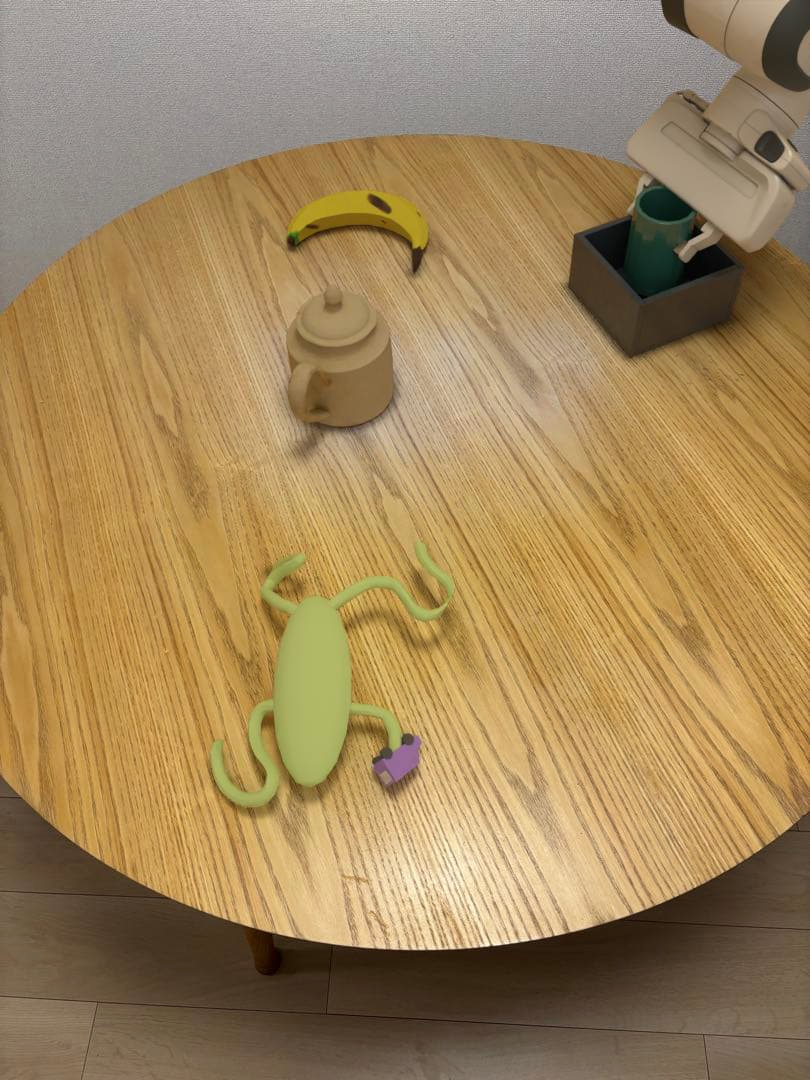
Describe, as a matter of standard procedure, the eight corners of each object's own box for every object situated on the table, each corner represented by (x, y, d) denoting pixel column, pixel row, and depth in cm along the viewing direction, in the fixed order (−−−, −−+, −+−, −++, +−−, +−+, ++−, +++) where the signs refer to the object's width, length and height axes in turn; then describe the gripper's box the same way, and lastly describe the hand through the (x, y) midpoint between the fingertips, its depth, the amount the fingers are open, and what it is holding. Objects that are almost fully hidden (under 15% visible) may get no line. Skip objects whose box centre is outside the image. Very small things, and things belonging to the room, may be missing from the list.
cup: (670, 255, 117) (686, 181, 109) (687, 292, 113) (706, 219, 105) (615, 262, 117) (627, 189, 109) (631, 300, 113) (645, 227, 105)
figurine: (463, 572, 97) (463, 539, 92) (413, 841, 82) (410, 817, 77) (279, 547, 99) (271, 514, 95) (198, 803, 84) (184, 778, 80)
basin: (664, 251, 123) (675, 198, 116) (730, 318, 115) (746, 266, 109) (567, 286, 120) (574, 233, 113) (629, 357, 112) (639, 306, 106)
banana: (274, 196, 125) (301, 287, 119) (407, 163, 126) (440, 250, 120) (281, 222, 129) (306, 311, 123) (409, 189, 130) (441, 276, 124)
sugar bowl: (401, 450, 106) (394, 347, 94) (297, 460, 106) (276, 357, 94) (390, 351, 115) (383, 244, 102) (295, 360, 114) (275, 254, 102)
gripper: (667, 69, 107) (584, 179, 113) (803, 164, 97) (704, 281, 103) (691, 94, 112) (610, 199, 118) (823, 188, 102) (728, 297, 107)
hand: (655, 238), depth 110 cm, fingers closed on cup, 6 cm apart
